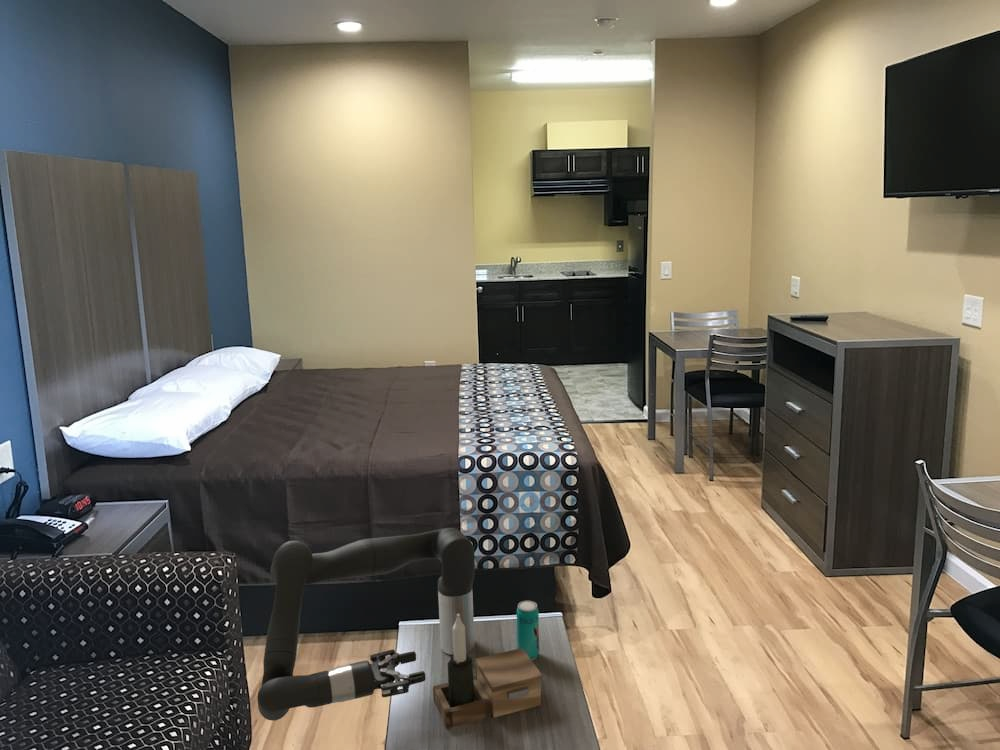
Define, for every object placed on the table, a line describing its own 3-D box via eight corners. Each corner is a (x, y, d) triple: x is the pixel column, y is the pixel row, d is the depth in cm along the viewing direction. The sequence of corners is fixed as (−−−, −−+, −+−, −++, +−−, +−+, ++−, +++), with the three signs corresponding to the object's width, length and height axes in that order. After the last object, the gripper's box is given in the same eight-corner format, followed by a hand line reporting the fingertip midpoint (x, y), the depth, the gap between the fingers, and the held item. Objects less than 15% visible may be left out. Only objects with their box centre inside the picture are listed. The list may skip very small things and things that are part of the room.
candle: (475, 704, 188) (472, 610, 182) (468, 717, 183) (464, 621, 178) (456, 700, 189) (452, 607, 184) (448, 713, 185) (443, 617, 179)
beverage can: (537, 663, 203) (536, 611, 200) (515, 661, 205) (514, 610, 201) (540, 651, 209) (539, 600, 206) (519, 649, 210) (518, 599, 207)
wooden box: (432, 697, 191) (430, 667, 189) (521, 675, 199) (521, 646, 197) (448, 732, 178) (447, 700, 176) (543, 707, 186) (543, 676, 184)
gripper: (354, 684, 167) (427, 667, 173) (343, 650, 180) (411, 635, 186) (357, 715, 169) (429, 697, 174) (346, 679, 182) (413, 663, 187)
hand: (420, 665), depth 180 cm, fingers open, 8 cm apart
